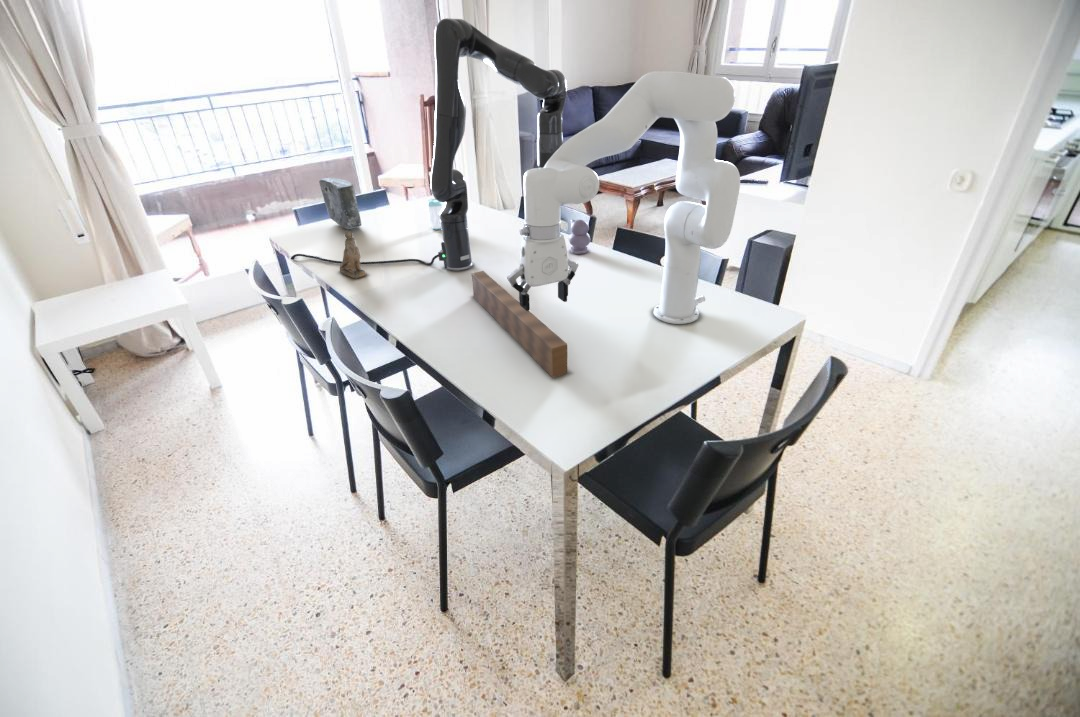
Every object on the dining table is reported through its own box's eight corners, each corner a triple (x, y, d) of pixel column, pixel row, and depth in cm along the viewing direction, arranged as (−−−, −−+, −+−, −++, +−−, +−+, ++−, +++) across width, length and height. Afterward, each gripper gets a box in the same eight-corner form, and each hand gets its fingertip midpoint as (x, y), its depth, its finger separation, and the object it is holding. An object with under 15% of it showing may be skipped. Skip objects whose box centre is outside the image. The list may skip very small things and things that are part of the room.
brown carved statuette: (368, 281, 178) (362, 235, 166) (353, 285, 175) (347, 238, 163) (352, 266, 184) (346, 221, 172) (338, 270, 181) (331, 224, 169)
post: (473, 297, 158) (470, 273, 153) (485, 294, 159) (483, 270, 155) (552, 378, 117) (552, 348, 113) (567, 373, 118) (567, 344, 114)
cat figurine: (594, 250, 190) (595, 219, 184) (581, 256, 185) (582, 224, 179) (577, 246, 195) (577, 215, 189) (564, 251, 190) (564, 220, 184)
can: (445, 229, 220) (441, 202, 214) (429, 230, 220) (425, 202, 214) (447, 224, 226) (444, 198, 220) (432, 225, 226) (428, 198, 220)
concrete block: (366, 231, 222) (356, 185, 212) (347, 235, 218) (335, 188, 207) (347, 218, 241) (337, 175, 230) (329, 222, 236) (318, 178, 226)
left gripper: (530, 146, 148) (531, 201, 157) (546, 154, 137) (547, 213, 146) (553, 144, 150) (554, 199, 159) (571, 152, 139) (570, 210, 148)
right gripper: (513, 242, 99) (517, 318, 108) (586, 228, 106) (584, 302, 115) (498, 232, 105) (503, 306, 114) (569, 220, 111) (568, 291, 120)
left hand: (550, 206), depth 152 cm, fingers open, 8 cm apart
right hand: (544, 304), depth 114 cm, fingers open, 9 cm apart
